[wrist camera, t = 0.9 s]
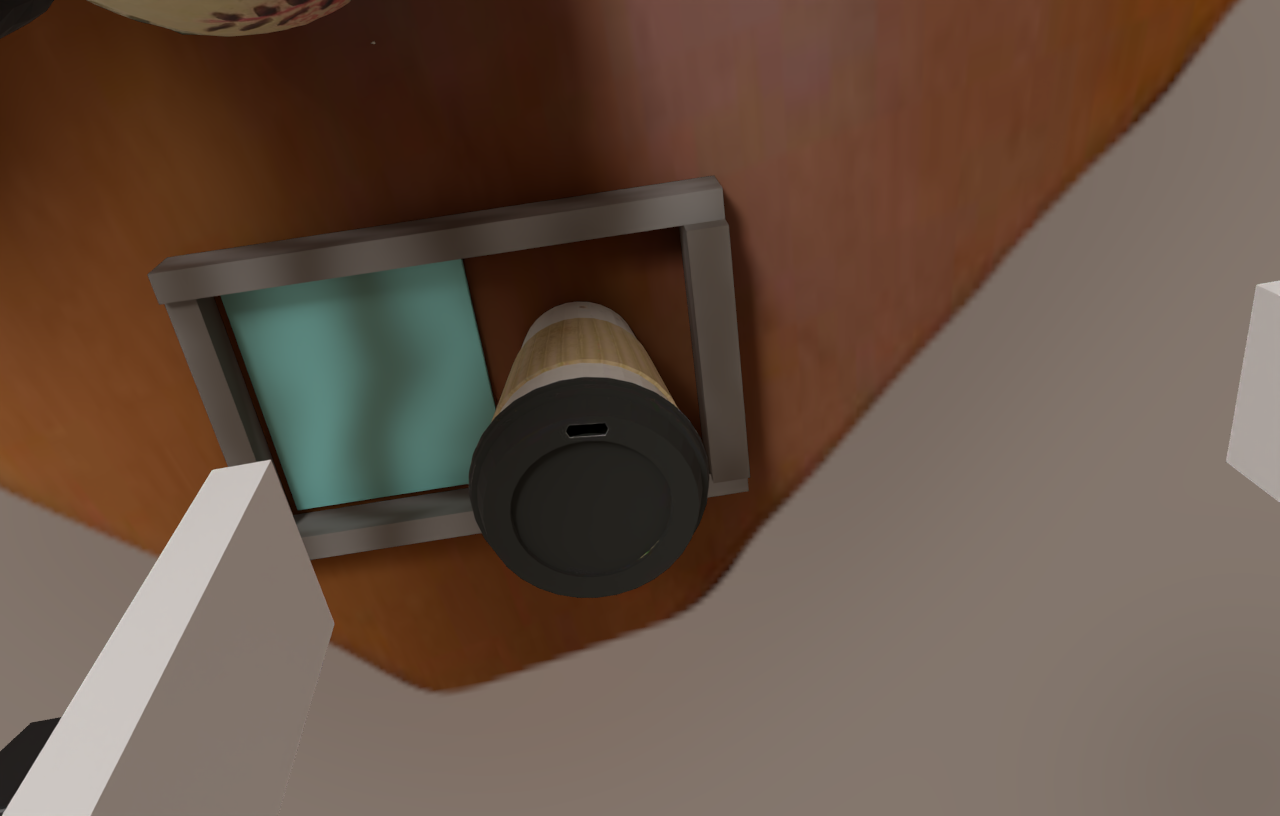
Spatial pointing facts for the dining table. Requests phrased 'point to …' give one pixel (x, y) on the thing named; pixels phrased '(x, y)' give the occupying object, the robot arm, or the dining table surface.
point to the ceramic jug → (191, 14)
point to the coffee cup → (587, 460)
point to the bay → (416, 353)
